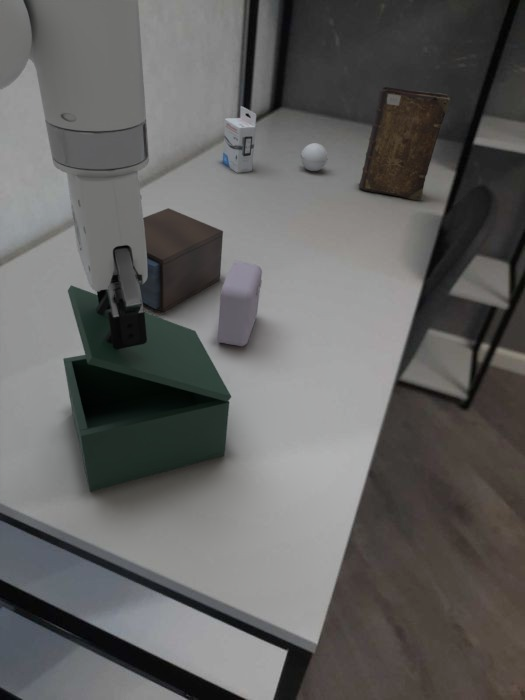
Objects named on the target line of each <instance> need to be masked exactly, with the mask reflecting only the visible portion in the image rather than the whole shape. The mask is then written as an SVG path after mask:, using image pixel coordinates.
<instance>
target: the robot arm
mask: <svg viewBox="0 0 525 700" xmlns="http://www.w3.org/2000/svg"><path fill="white" fill-rule="evenodd" d="M140 22H141V21H140V7H139V0H0V91H2V90H3V89H5V88H7V87H9V86H10V85H11V84H13V83H14V82H15V81H16V80H17V79H18V78H19V77H20V76H21V75H22V73H23V71H24V69H25V68H26V66H27V63H28V61H29V60H30V61H31V62H32V63H33V64H34V68H35V70H36V76H37V77H36V78H37V81H38V87H39V93H40V97H41V104H42V109H43V115H44V121H45V127H46V133H47V137H48V138H47V139H48V143H49V149H50V153H51V154H50V155H51V158H52V160H51V161H52V164H53V166H54V167H55V168H56V169H57V170H60V171H61V172H63V173H66V176H67V186H68V187H67V188H68V194H69V200H70V206H71V213H72V219H73V220H72V221H73V227H74V234H75V235H74V236H75V243H76V248H77V252H78V256H79V259H80V261H81V266H82V267H83V270H84V274H85V276H86V279H87V282H88V284H89V286H90V288H91V289H92V290H93V291H95V292H96V295H98V302H99V303H100V302H101V300H102V298H103V297H104V295H105V293H106V291H105V290H106V289H107V292H108V297H109V303H110V304H109V305H108V307H107V309H106V310H108V309H111V312H108V317H109V324H110V331H111V337H112V344H113V347H114V348H115V349H121V348H126V347H131V346H136V345H141V344H145V343H146V342H147V335H146V324H145V313H146V312H145V308H144V303H143V302H142V297H141V291H140V285H139V282H140V284H144V283H145V282H146V280H147V276H148V268H147V251H146V240H145V229H144V220H143V218H144V212H143V204H142V203H143V202H142V194H141V187H140V179H139V171H142V170H143V169H144V168H146V167H147V166H148V165H149V163H150V155H149V140H148V127H147V112H146V96H145V95H146V94H145V84H144V82H145V81H144V69H143V55H142V41H141V25H140ZM111 280H116V281H112V282H111ZM117 289H121V291H122V299H118V302H117V300H116V295H115V290H117ZM144 312H145V313H144Z"/></svg>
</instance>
